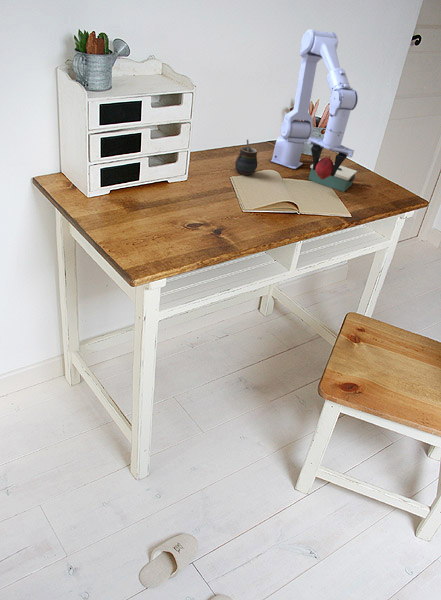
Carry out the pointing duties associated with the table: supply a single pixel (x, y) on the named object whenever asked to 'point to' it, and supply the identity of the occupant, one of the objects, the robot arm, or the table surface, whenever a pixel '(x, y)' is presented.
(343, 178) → the lunchbox
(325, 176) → the onion
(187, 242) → the table surface
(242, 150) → the mate gourd
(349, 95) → the robot arm
